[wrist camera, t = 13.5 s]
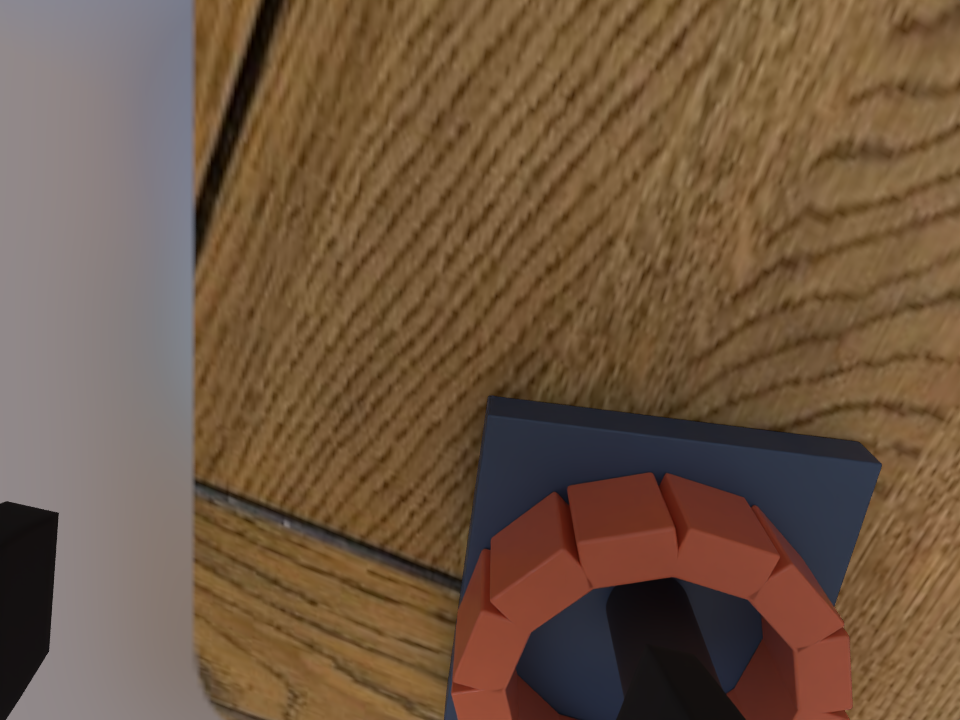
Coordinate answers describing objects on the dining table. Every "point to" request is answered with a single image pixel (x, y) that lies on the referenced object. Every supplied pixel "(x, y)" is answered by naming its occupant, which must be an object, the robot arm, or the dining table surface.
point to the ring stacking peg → (669, 601)
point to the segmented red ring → (643, 557)
